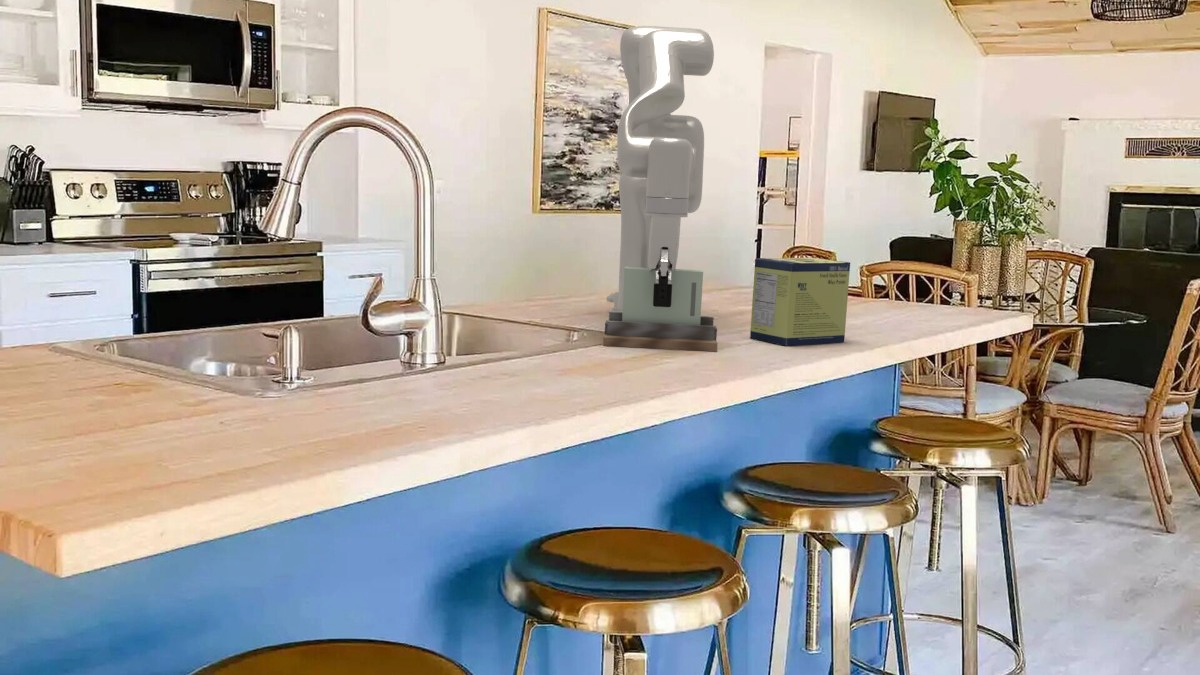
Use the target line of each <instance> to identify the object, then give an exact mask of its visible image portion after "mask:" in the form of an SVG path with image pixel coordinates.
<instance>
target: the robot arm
mask: <svg viewBox="0 0 1200 675" xmlns="http://www.w3.org/2000/svg"><path fill="white" fill-rule="evenodd" d="M712 40H713V39H712V38H711V36H710V35H709V33H708V32H707V31H705V30H703V29H700V28H690V27H687V28H686V27H671V26H670V27H669V26H658V25H657V26H655V25H641V26H640V25H638V26H632V27H628V28H627V29H626V30H624V32H622V34H621V37H620V45H619V46H620V47H619V51H620V59H621V60H620V61H621V64H622V69H623V72H624V76H625V79H626V83H627V85H628V86H627V87H628V91H629V102H628V105H627V107H626V108H625V110H624V111H623V113H622V114H621V117H620V119H619V122H618V125H617V131H616V132H617V140H616V142H617V144H616V146H617V147H616V148H617V149H616V150H617V151H616V152H617V166H618V169H619V170H620V173H621V175H620V177H619V181H618V192H619V193H618V194H619V203H620V205H619V206H620V216H621V217H620V220H621V221H620V223H621V224H620V247H619V248H620V251H619V272H618V291H617V292H611V293H610V295H607V296H606V298H605V299H606V302H608V303H614V304H613V307H611V308H610V311H609V312H623V291H624V269H625V267H641V268H648V270H649V271H650V272H652V269H655V268H656V282H655V284H654V293H653V306H654V307H671V299H672V284H671V273H673V272H674V271H675V269H677V268H676V267H677V262H678V256H679V247H680V238H681V237H680V235H681V221H682V220H681V218H688V216H689V215H688V214H692V213H695V212H696V211H698V210H699V208H700V206H701V203H702V196H703V195H702V194H703V182H704V181H703V180H704V179H703V178H704V157H705V153H704V152H705V132H704V131H705V130H704V127H703V124H702V122H701V120H700V119H699V118H697V117H696V116H691V115H686V114H685V115H683V114H681V115H680V114H672V113H673V112H675V111H677V110H678V109H679V108H680V107H681V106H682V105H683V103H684V101H685V97H686V96H685V82H684V81H685V79H684V78H685V77H684V76H697V77H698V76H699V77H705V76H707V75H708V74H710V73H711V70H712V68H713V65H714V60H715V59H714V58H715V51H714V44H713V41H712ZM658 279H659V280H658ZM658 282H659V284H658Z"/></svg>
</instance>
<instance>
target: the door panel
mask: <svg viewBox="0 0 1200 675" xmlns="http://www.w3.org/2000/svg"><path fill="white" fill-rule="evenodd" d="M703 279H704V271H703V270H702V269H682V268H681V269H680V268H678V269H677V268H675V271H674V272H673V273H671V284H672V299H671V307H654V306H653V293H654V284H655V282H656V268H655V269H652V272H650V271H649V270H648V268H641V267H625V269H624V291H623V313H622V321H624V322H644V323H664V324H684V325H700V320H701V316H702V300H703V298H702V296H703V281H704V280H703ZM658 280H659V279H658ZM658 284H659V282H658Z"/></svg>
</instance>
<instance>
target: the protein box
mask: <svg viewBox="0 0 1200 675" xmlns="http://www.w3.org/2000/svg"><path fill="white" fill-rule="evenodd" d="M850 268H851V262H848V261H840V260H834V259H826V258H818V257H817V258H816V257H808V256H807V257H758V258H757V257H755V259H754V269H753V270H754V271H753V285H752V286H753V287H752V302H751V305H752V306H751V318H750V320H751V322H750V333H749V334H750V335H749V338H750V339H751V340H752V339H753V340H755V339H756V341H760V342H765V343H766V342H767V343H771V344H774V345H775V344H776V345H781V346H785V347H792V346H794V347H795V346H809V345H810V346H811V345H825V344H840V343H841V344H843V343H845V336H846V324H847V323H846V322H847V309H848V295H849V287H850V286H849V284H850V271H851V270H850Z"/></svg>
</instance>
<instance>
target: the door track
mask: <svg viewBox="0 0 1200 675" xmlns="http://www.w3.org/2000/svg"><path fill="white" fill-rule="evenodd" d="M622 313H623V312H610V311H609V312H608V320H606V321H605V323H604V335H603V342H602V345H603V347H617V348H618V347H619V348H637V349H639V348H640V349H641V348H642V349H654V350H655V349H659V350H678V351H679V350H681V351H695V352H697V351H699V352H714V353H715V352H716V353H717V351H718V342H717V337H718V336H717V332H718V328H717V325H714V318H715V317H714V316H703V315H701V320H700V325H684V324H664V323H644V322H624V321H622Z"/></svg>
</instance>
